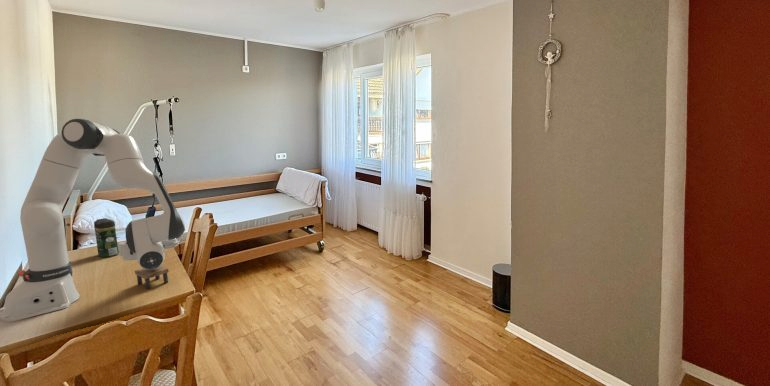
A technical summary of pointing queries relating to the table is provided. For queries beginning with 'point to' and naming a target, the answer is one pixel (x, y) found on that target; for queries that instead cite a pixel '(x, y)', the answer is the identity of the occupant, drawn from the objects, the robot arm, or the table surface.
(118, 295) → the table surface
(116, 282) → the table surface
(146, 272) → the brown miniature table
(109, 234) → the coffee jar
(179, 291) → the table surface
